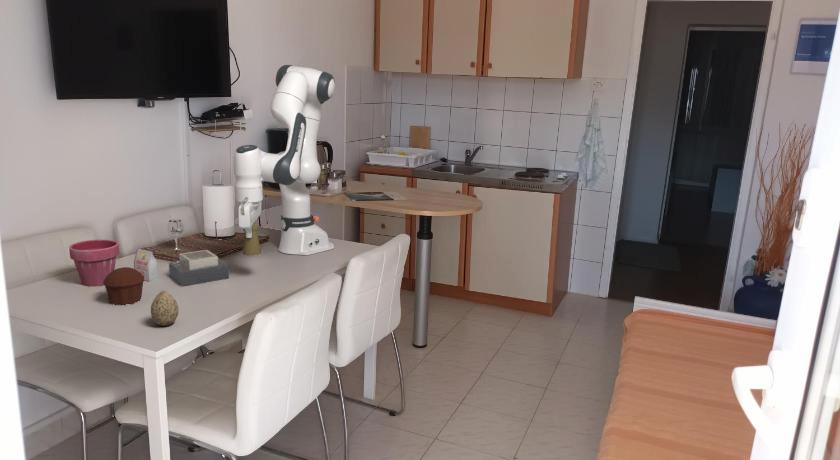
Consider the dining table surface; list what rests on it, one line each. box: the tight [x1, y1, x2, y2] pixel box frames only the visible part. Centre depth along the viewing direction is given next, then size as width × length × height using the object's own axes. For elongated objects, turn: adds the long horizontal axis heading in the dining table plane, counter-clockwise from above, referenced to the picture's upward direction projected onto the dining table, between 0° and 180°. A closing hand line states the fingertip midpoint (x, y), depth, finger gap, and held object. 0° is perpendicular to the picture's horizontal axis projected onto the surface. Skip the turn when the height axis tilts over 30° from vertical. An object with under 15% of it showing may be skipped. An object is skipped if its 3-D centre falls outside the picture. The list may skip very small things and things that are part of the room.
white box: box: [133, 248, 159, 283], centre depth 207 cm, size 4×7×10 cm, turn 64°
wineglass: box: [167, 218, 185, 250], centre depth 239 cm, size 6×6×12 cm
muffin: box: [103, 266, 145, 306], centre depth 188 cm, size 12×11×10 cm
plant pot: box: [68, 239, 120, 287], centre depth 202 cm, size 14×14×13 cm
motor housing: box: [168, 249, 230, 287], centre depth 211 cm, size 16×12×8 cm
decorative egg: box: [150, 290, 179, 327], centre depth 172 cm, size 7×7×10 cm
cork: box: [242, 221, 262, 257], centre depth 209 cm, size 6×6×11 cm
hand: (251, 234), depth 209 cm, fingers closed on cork, 4 cm apart
